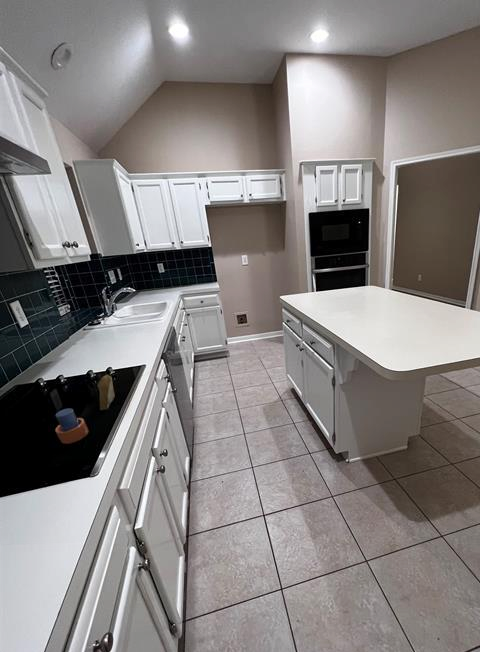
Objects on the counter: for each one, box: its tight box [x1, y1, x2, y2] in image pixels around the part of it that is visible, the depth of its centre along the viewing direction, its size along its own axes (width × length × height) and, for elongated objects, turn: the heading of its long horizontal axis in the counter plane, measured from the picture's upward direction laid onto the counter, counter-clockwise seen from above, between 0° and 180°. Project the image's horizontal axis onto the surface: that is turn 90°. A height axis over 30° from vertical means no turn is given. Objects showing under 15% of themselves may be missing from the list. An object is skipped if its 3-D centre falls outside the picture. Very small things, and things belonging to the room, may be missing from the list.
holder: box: [55, 417, 89, 445], centre depth 95 cm, size 7×7×4 cm
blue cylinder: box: [55, 407, 80, 431], centre depth 94 cm, size 4×4×8 cm
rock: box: [97, 374, 116, 411], centre depth 111 cm, size 11×9×10 cm
